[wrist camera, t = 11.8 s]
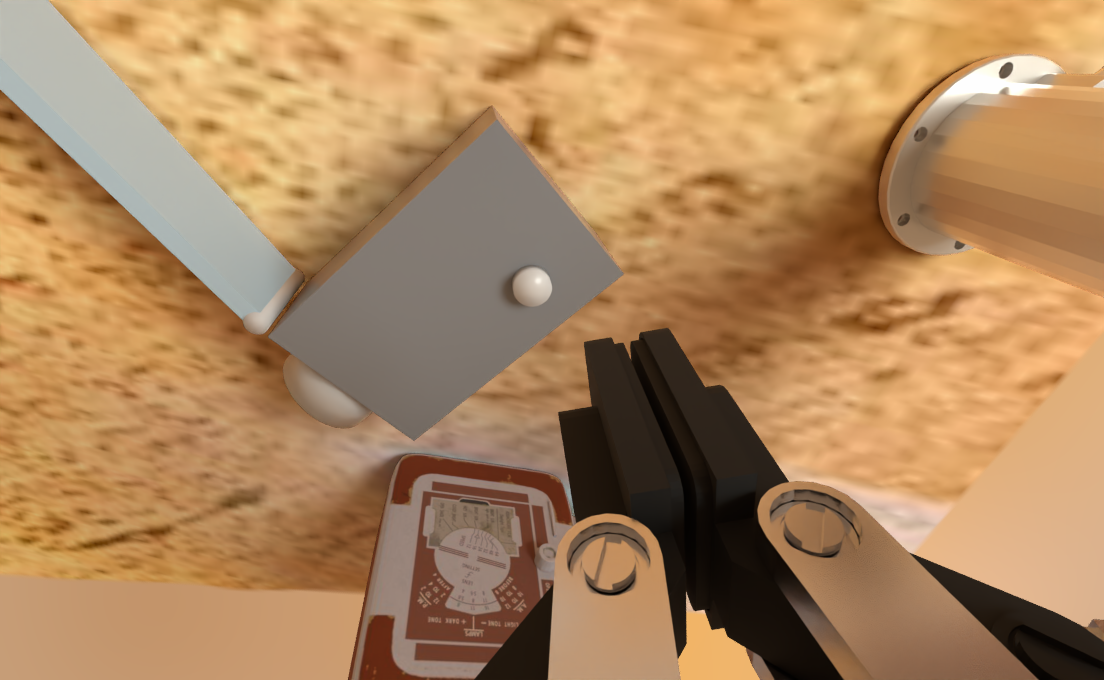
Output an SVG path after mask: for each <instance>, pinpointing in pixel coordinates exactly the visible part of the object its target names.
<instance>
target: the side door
mask: <svg viewBox="0 0 1104 680" xmlns="http://www.w3.org/2000/svg"><path fill="white" fill-rule="evenodd" d="M0 90H1V91H2V92H3V93H5V94H6V95H7V96H8V97H9V98H10V99H11V100H12V101H13V102H14V103H15V104H16V105H17V106H18V107H19V108H20V109H21V110H22V111H23V112H24V113H26V114H27V115H28V116H29V117H30V118H31V119H32V120H33V121H34V122H35V123H36V124H37V125H38V126H39V127H40V128H41V129H42V130H43V131H44V132H45V133H47V134H48V135H49V136H50V137H51V138H52V139H53V140H54V141H55V142H56V143H57V144H58V145H59V146H60V147H61V148H62V149H63V150H64V151H65V152H66V153H68V154H69V155H70V156H71V157H72V158H73V159H74V160H75V161H76V162H77V163H78V164H79V165H80V166H81V167H82V168H83V169H84V170H85V171H86V172H87V173H88V174H90V175H91V176H92V177H93V178H94V179H95V180H96V181H97V182H98V183H99V184H100V185H101V186H102V187H103V188H104V189H105V190H106V191H107V192H108V193H109V194H111V195H112V196H113V197H114V198H115V199H116V200H117V201H118V202H119V203H120V204H121V205H122V206H123V207H124V208H125V209H126V210H127V211H128V212H129V213H130V214H132V215H133V216H134V217H135V218H136V219H137V220H138V221H139V222H140V223H141V224H142V225H143V226H144V227H145V228H146V229H147V230H148V231H149V232H150V233H151V234H153V235H154V236H155V237H156V238H157V239H158V240H159V241H160V242H161V243H162V244H163V245H164V246H165V247H166V248H167V249H168V250H169V251H170V252H171V253H172V254H174V255H175V256H176V257H177V258H178V259H179V260H180V261H181V262H182V263H183V264H184V265H185V266H186V267H187V268H188V269H189V270H190V271H191V272H192V273H193V274H195V275H196V276H197V277H198V278H199V279H200V280H201V281H202V282H203V283H204V284H205V285H206V286H207V287H208V288H209V289H210V290H211V291H212V292H213V293H214V294H216V295H217V296H218V297H219V298H220V299H221V300H222V301H223V302H224V303H225V304H226V305H227V306H228V307H229V308H230V309H231V310H232V311H233V312H234V313H235V314H237V315H238V316H239V317H240V318H241V319H242V320H243V325H244V327H245V328H246V330H247V331H249V332H250V333H253V334H264V333H265V332H266V331H267V330H268V329H269V328H270V326H271V325H272V324H273V322H274V321H275V319H276V318H277V317H278V315H279V314H280V313H281V311H282V310H283V309H284V307H285V306H286V305H287V303H288V302H289V301H290V299H291V298H292V297H293V295H294V294H295V293H296V291H297V290H298V289H299V287H300V286H301V285H302V283H303V282H304V279H305V278H304V274H303V273H302V272H301V271H300V270H299V269H297V268H294V267H293V266H292V265H291V264H290V263H289V262H288V261H287V260H286V259H285V258H284V256H283V255H282V254H281V253H280V252H279V251H278V250H277V249H276V248H275V247H274V246H273V244H272V243H271V242H270V241H269V240H268V239H267V238H266V237H265V236H264V235H263V234H262V233H261V231H260V230H259V229H258V228H257V227H256V226H255V225H254V224H253V223H252V222H251V221H250V219H249V218H248V217H247V216H246V215H245V214H244V213H243V212H242V211H241V210H240V209H239V207H238V206H237V205H236V204H235V203H234V202H233V201H232V200H231V199H230V198H229V197H228V196H227V194H226V193H225V192H224V191H223V190H222V189H221V188H220V187H219V186H218V185H217V184H216V182H215V181H214V180H213V179H212V178H211V177H210V176H209V175H208V174H207V173H206V172H205V171H204V169H203V168H202V167H201V166H200V165H199V164H198V163H197V162H196V161H195V160H194V159H193V157H192V156H191V155H190V154H189V153H188V152H187V151H186V150H185V149H184V148H183V147H182V146H181V144H180V143H179V142H178V141H177V140H176V139H175V138H174V137H173V136H172V135H171V134H170V132H169V131H168V130H167V129H166V128H165V127H164V126H163V125H162V124H161V123H160V122H159V121H158V119H157V118H156V117H155V116H154V115H153V114H152V113H151V112H150V111H149V110H148V109H147V107H146V106H145V105H144V104H143V103H142V102H141V101H140V100H139V99H138V98H137V97H136V96H135V94H134V93H133V92H132V91H131V90H130V89H129V88H128V87H127V86H126V85H125V84H124V82H123V81H122V80H121V79H120V78H119V77H118V76H117V75H116V74H115V73H114V72H113V71H112V69H111V68H110V67H109V66H108V65H107V64H106V63H105V62H104V61H103V60H102V59H101V57H100V56H99V55H98V54H97V53H96V52H95V51H94V50H93V49H92V48H91V47H90V46H89V44H88V43H87V42H86V41H85V40H84V39H83V38H82V37H81V36H80V35H79V34H78V32H77V31H76V30H75V29H74V28H73V27H72V26H71V25H70V24H69V23H68V22H67V20H66V19H65V18H64V17H63V16H62V15H61V14H60V13H59V12H58V11H57V10H56V9H55V7H54V6H53V5H52V4H51V3H50V2H49V1H48V0H0Z"/></svg>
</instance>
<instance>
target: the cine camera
mask: <svg viewBox="0 0 1104 680" xmlns="http://www.w3.org/2000/svg"><path fill="white" fill-rule="evenodd" d="M575 524H576V520H575V517H574V516H572V512H571V508H570V504H569V501H568V497H567V494H566V491H565V488H564V486H563V484H562V482H561V480H560V479H559V478H557V477H556V476H554V475H552V474H549V473H545V472H540V471H534V470H528V469H521V468H514V467H508V466H501V465H494V464H487V463H481V462H474V461H467V460H461V459H454V458H447V457H441V456H433V455H425V454H408V455H405V456H403V457H402V458H401V459H400V461H399V462H398V463H397V465H396V466H395V469H394V472H393V475H392V478H391V481H390V484H389V488H388V493H387V497H386V501H385V505H384V509H383V513H382V517H381V521H380V525H379V530H378V534H377V539H376V543H375V548H374V553H373V557H372V562H371V567H370V572H369V577H368V582H367V587H366V592H365V597H364V602H363V607H362V612H361V617H360V622H359V627H358V632H357V637H356V642H355V647H354V652H353V657H352V662H351V667H350V672H349V677H348V680H474V679H475V678H476V677H477V675H478V674H479V673H480V672H481V670H482V669H483V668H484V667H485V666H486V664H487V663H488V662H489V661H490V660H491V658H492V657H493V656H494V655H495V654H496V652H497V651H498V650H499V649H500V648H501V646H502V645H503V644H504V643H505V641H506V640H507V639H508V638H509V637H510V635H511V634H512V633H513V632H514V631H515V629H516V628H517V627H518V626H519V625H520V623H521V622H522V621H523V620H524V619H525V617H526V616H527V615H528V614H529V612H530V611H531V610H532V609H533V608H534V606H535V605H536V604H537V603H538V602H539V600H540V599H541V598H542V597H543V596H544V594H545V593H546V592H547V591H548V590H549V588H550V587H551V586H552V585H553V583H554V571H555V558H556V553H557V549H558V545H559V543H560V541H561V540H562V538H563V537H564V535H565V533H566V532H567V531H568V530H569V529H571V528H572V527H573V526H574V525H575Z"/></svg>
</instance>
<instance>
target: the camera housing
mask: <svg viewBox="0 0 1104 680" xmlns="http://www.w3.org/2000/svg"><path fill="white" fill-rule="evenodd" d="M623 274H624V273H623V272H622V270H621V269H620V267H619V266H618V265H617V263H616V262H615V260H614V259H613V257H612V256H611V254H610V253H609V251H608V250H607V248H606V247H605V245H604V244H603V243H602V241H601V240H600V238H599V237H598V235H597V234H596V232H595V231H594V230H593V229H592V228H591V226H590V225H589V224H588V223H587V221H586V220H585V219H584V218H583V217H582V215H581V214H580V213H579V212H578V210H577V209H576V208H575V207H574V205H573V204H572V203H571V202H570V201H569V199H568V198H567V197H566V196H565V194H564V193H563V192H562V191H561V189H560V188H559V187H558V186H557V185H556V183H555V182H554V181H553V180H552V178H551V177H550V176H549V175H548V174H547V172H546V171H545V170H544V169H543V167H542V166H541V165H540V164H539V162H538V161H537V160H536V159H535V158H534V156H533V155H532V154H531V153H530V151H529V150H528V149H527V148H526V146H525V145H524V144H523V143H522V142H521V140H520V139H519V138H518V137H517V135H516V134H515V133H514V132H513V130H512V129H511V128H510V127H509V126H508V124H507V123H506V122H505V121H504V119H503V118H502V117H501V116H500V115H499V113H498V112H497V111H496V110H495V108H494V107H493V106H491V107H490V108H489V109H488V110H487V111H486V112H485V113H484V114H483V115H482V116H480V117H479V118H478V119H477V120H476V121H475V122H474V123H473V124H472V125H471V126H470V127H469V128H468V129H467V130H466V131H465V132H464V133H463V134H462V135H461V136H460V137H459V138H458V139H457V140H455V141H454V142H453V143H452V144H451V145H450V146H449V147H448V148H447V149H446V150H445V151H444V152H443V153H442V154H441V155H440V156H439V157H438V158H437V159H436V160H435V161H434V162H433V163H432V164H430V165H429V166H428V167H427V168H426V169H425V170H424V171H423V172H422V173H421V174H420V175H419V176H418V177H417V178H416V179H415V180H414V181H413V182H412V183H411V184H410V185H409V186H408V187H407V188H405V189H404V190H403V191H402V192H401V193H400V194H399V195H398V196H397V197H396V198H395V199H394V200H393V201H392V202H391V203H390V204H389V205H388V206H387V207H386V208H385V209H384V210H383V211H382V212H380V213H379V214H378V215H377V216H376V217H375V218H374V219H373V220H372V221H371V222H370V223H369V224H368V225H367V226H366V227H365V228H364V229H363V230H362V231H361V232H360V233H359V234H358V235H357V236H356V237H354V238H353V239H352V240H351V241H350V242H349V243H348V244H347V245H346V246H345V247H344V248H343V249H342V250H341V251H340V252H339V253H338V254H337V255H336V256H335V257H334V258H333V259H332V260H331V261H329V262H328V263H327V264H326V265H325V266H324V267H323V268H322V269H321V270H320V271H319V272H318V273H317V274H316V275H315V276H314V277H313V278H312V279H311V280H310V281H309V282H308V283H307V284H306V285H305V286H304V288H303V289H302V290H301V292H300V293H299V295H298V296H297V297H296V299H295V300H294V301H293V303H292V304H291V306H290V307H289V308H288V310H287V311H286V312H285V314H284V315H283V317H282V318H281V319H280V321H279V322H278V323H277V325H276V326H275V328H274V329H273V330H272V332H271V333H270V334H269V336H268V338H270V339H271V340H273V341H274V342H276V343H277V344H278V345H280V346H281V347H283V348H284V349H285V350H287V351H288V352H290V353H291V354H290V355H289V356H288V357H287V359H286V360H285V362H284V365H283V377H284V381H285V384H286V386H287V389H288V391H289V392H290V394H291V396H292V397H293V399H294V400H295V401H296V402H297V403H298V405H299V406H300V407H301V408H302V409H303V410H304V411H306V412H307V413H308V414H309V415H311V416H312V417H313V418H315V419H317V420H318V421H320V422H322V423H324V424H326V425H329V426H332V427H336V428H351V427H354V426H356V425H358V424H359V423H360V422H362V421H363V420H364V419H365V418H366V417H368V416H369V415H370V414H371V413H372V412H374V413H375V414H377V415H378V416H380V417H381V418H382V419H384V420H385V421H387V422H388V423H389V424H391V425H392V426H394V427H395V428H396V429H398V430H399V431H401V432H402V433H404V434H405V435H406V436H408V437H409V438H411V439H412V440H413V441H414V440H416V439H417V438H418V437H419V436H421V435H422V434H423V433H424V432H426V431H427V430H428V429H430V428H431V427H432V426H433V425H435V424H436V423H437V422H438V421H440V420H441V419H442V418H443V417H445V416H446V415H447V414H448V413H450V412H451V411H452V410H453V409H455V408H456V407H457V406H458V405H460V404H461V403H462V402H464V401H465V400H466V399H467V398H469V397H470V396H471V395H472V394H474V393H475V392H476V391H477V390H479V389H480V388H481V387H482V386H484V385H485V384H486V383H487V382H489V381H490V380H491V379H492V378H494V377H495V376H496V375H497V374H499V373H500V372H501V371H503V370H504V369H505V368H506V367H508V366H509V365H510V364H511V363H513V362H514V361H515V360H516V359H518V358H519V357H520V356H521V355H523V354H524V353H525V352H526V351H528V350H529V349H530V348H531V347H533V346H534V345H535V344H537V343H538V342H539V341H540V340H542V339H543V338H544V337H545V336H547V335H548V334H549V333H550V332H552V331H553V330H554V329H555V328H557V327H558V326H559V325H560V324H562V323H563V322H564V321H565V320H567V319H568V318H569V317H570V316H572V315H573V314H574V313H576V312H577V311H578V310H579V309H581V308H582V307H583V306H584V305H586V304H587V303H588V302H589V301H591V300H592V299H593V298H594V297H596V296H597V295H598V294H599V293H601V292H602V291H603V290H604V289H606V288H607V287H608V286H610V285H611V284H612V283H613V282H615V281H616V280H617V279H618V278H620V277H621V276H622V275H623Z"/></svg>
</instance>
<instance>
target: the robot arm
mask: <svg viewBox="0 0 1104 680" xmlns="http://www.w3.org/2000/svg"><path fill="white" fill-rule="evenodd" d="M878 198H879V206H880V214H881V216H882V219H883V222H884V224H885V227H886V228H887V230H888V231H889V232H890V234H891V235H892V237H893V238H895V239H896V240H897V241H898V242H900V243H901V244H902V245H904V246H906V247H909V248H911V249H913V250H915V251H917V252H920V253H924V254H928V255H951V254H958V253H961V252H964V251H967V250H970V249H973V248H977V249H980V250H982V251H985V252H987V253H990V254H992V255H995V256H998V257H1000V258H1003V259H1005V260H1008V261H1011V262H1013V263H1016V264H1018V265H1021V266H1023V267H1026V268H1029V269H1031V270H1034V271H1036V272H1039V273H1042V274H1044V275H1047V276H1049V277H1052V278H1054V279H1057V280H1060V281H1062V282H1065V283H1067V284H1070V285H1072V286H1075V287H1078V288H1080V289H1083V290H1085V291H1088V292H1091V293H1093V294H1096V295H1098V296H1101V297H1103V298H1104V66H1103V67H1102V69H1100V70H1099V71H1098V72H1096V73H1095V74H1087V75H1086V74H1066V72H1065V71H1064V70H1063V69H1062V68H1061V66H1060V65H1058V64H1056V63H1055V62H1053V61H1052V60H1050V59H1048V58H1046V57H1042V56H1038V55H1034V54H1004V55H997V56H991V57H989V58H986V59H983V60H980V61H977V62H974V63H972V64H970V65H968V66H967V67H965V68H963V69H961V70H959V71H958V72H956V73H954V74H953V75H951V76H950V77H949V78H947V79H946V80H945V81H943V82H942V83H941V84H939V85H938V86H937V87H936V88H934V89H933V90H932V91H931V92H930V93H929V94H928V95H927V96H926V97H925V98H924V99H923V100H922V101H921V102H920V103H919V104H918V106H917V107H916V108H915V109H914V111H913V112H912V113H911V115H910V116H909V117H908V118H907V120H906V121H905V122H904V124H903V126H902V127H901V129H900V131H899V132H898V134H897V136H896V137H895V139H894V141H893V143H892V145H891V147H890V150H889V152H888V155H887V157H886V159H885V162H884V166H883V170H882V174H881V178H880V184H879V197H878ZM584 348H585V356H586V364H587V372H588V380H589V388H590V396H591V404H592V407H587V408H581V409H575V410H569V411H563V412H558V415H559V421H560V427H561V433H562V439H563V446H564V452H565V458H566V464H567V470H568V477H569V483H570V489H571V495H572V501H573V508H574V514H575V520H576V524H575V525H574V526H573V527H572V528H571V529H569V530H568V531H567V532H566V533H565V535H564V537H563V538H562V540H561V541H560V543H559V545H558V549H557V553H556V558H555V571H554V583H553V585H552V586H551V587H550V588H549V590H548V591H547V592H546V593H545V594H544V596H543V597H542V598H541V599H540V600H539V602H538V603H537V604H536V605H535V606H534V608H533V609H532V610H531V611H530V612H529V614H528V615H527V616H526V617H525V619H524V620H523V621H522V622H521V623H520V625H519V626H518V627H517V628H516V629H515V631H514V632H513V633H512V634H511V635H510V637H509V638H508V639H507V640H506V641H505V643H504V644H503V645H502V646H501V648H500V649H499V650H498V651H497V652H496V654H495V655H494V656H493V657H492V658H491V660H490V661H489V662H488V663H487V664H486V666H485V667H484V668H483V669H482V670H481V672H480V673H479V674H478V675H477V677H476V678H475V679H474V680H681V679H680V672H679V666H678V658H679V656H680V655H681V653H682V651H683V649H684V647H685V646H686V643H687V642H686V592H687V595H688V598H689V600H690V603H691V606H692V608H693V610H694V611H698V610H705V613H706V616H707V618H708V621H709V624H710V626H711V629H712V630H714V629H720V628H725V631H726V634H727V636H728V637H729V638H731V639H732V640H734V641H736V642H737V643H739V644H741V645H742V646H744V647H746V651H747V654H748V656H749V659H750V661H751V664H752V666H753V668H754V669H755V671H756V673H757V675H758V677H759V678H760V680H1104V620H1100V619H1093V620H1092V621H1091V623H1090V624H1089V626H1088V627H1083V626H1081V625H1079V624H1077V623H1075V622H1073V621H1071V620H1069V619H1067V618H1065V617H1063V616H1061V615H1059V614H1057V613H1055V612H1053V611H1050V610H1048V609H1046V608H1043V607H1040V606H1038V605H1036V604H1033V603H1031V602H1029V601H1026V600H1024V599H1021V598H1019V597H1016V596H1013V595H1011V594H1009V593H1006V592H1004V591H1002V590H999V589H997V588H994V587H992V586H989V585H987V584H984V583H982V582H980V581H977V580H975V579H972V578H970V577H967V576H965V575H963V574H960V573H958V572H955V571H953V570H950V569H948V568H945V567H943V566H941V565H938V564H936V563H933V562H931V561H928V560H926V559H924V558H921V557H919V556H916V555H914V554H911V553H909V552H908V551H907V550H906V549H905V548H904V547H902V546H901V545H900V544H899V543H898V542H897V541H896V540H895V539H894V538H893V537H892V536H891V535H890V534H889V533H888V532H887V531H886V530H885V529H884V528H883V527H882V526H881V525H880V524H879V523H878V522H877V521H876V520H875V519H874V518H873V517H872V516H871V515H870V514H869V513H868V512H867V511H866V510H865V509H864V508H863V507H862V506H860V505H859V504H858V503H857V502H855V501H854V500H853V499H851V498H850V497H849V496H848V495H846V494H844V493H842V492H840V491H838V490H836V489H834V488H832V487H829V486H825V485H821V484H818V483H814V482H802V481H794V482H789V481H788V480H787V478H786V477H785V475H784V474H783V472H782V471H781V469H780V468H779V466H778V465H777V463H776V462H775V460H774V459H773V457H772V456H771V454H770V453H769V451H768V450H767V448H766V447H765V445H764V444H763V443H762V441H761V440H760V438H759V437H758V435H757V434H756V432H755V431H754V429H753V428H752V426H751V425H750V423H749V422H748V420H747V419H746V417H745V416H744V414H743V413H742V411H741V410H740V408H739V407H738V405H737V404H736V402H735V401H734V400H733V398H732V397H731V395H730V394H729V392H728V391H727V390H726V388H725V387H724V386H721V385H717V386H711V387H705V386H704V385H703V383H702V381H701V380H700V378H699V377H698V375H697V373H696V372H695V370H694V368H693V367H692V365H691V364H690V362H689V360H688V359H687V357H686V355H685V354H684V352H683V351H682V349H681V347H680V346H679V344H678V342H677V341H676V339H675V338H674V336H673V334H672V333H671V331H670V330H669V329H668V328H664V329H658V330H652V331H646V332H640V334H639V340H636V341H631V344H630V349H631V359H630V357H629V355H628V352H627V350H626V348H625V345H624V343H618V344H614V342H613V340H612V338H605V339H599V340H593V341H587V342H584Z"/></svg>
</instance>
